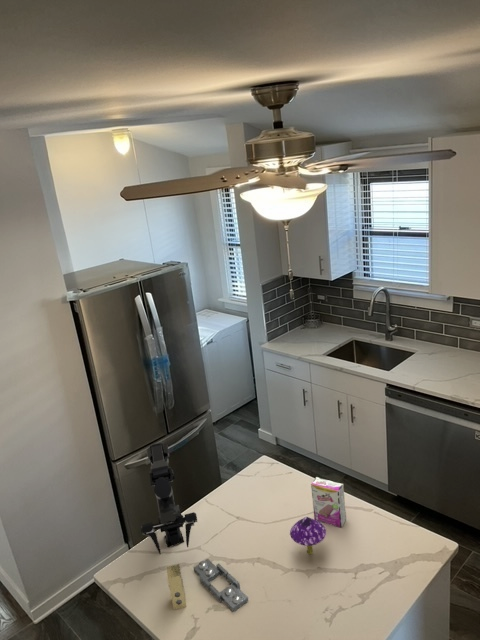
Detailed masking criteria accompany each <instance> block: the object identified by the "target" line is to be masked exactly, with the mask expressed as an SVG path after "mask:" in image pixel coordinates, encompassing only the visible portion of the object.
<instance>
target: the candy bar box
mask: <svg viewBox="0 0 480 640" xmlns="http://www.w3.org/2000/svg"><path fill="white" fill-rule="evenodd" d="M310 485H311V487H310V488H311V497H312V505H313V506H312V507H313V517H314V518H313V519H314V520H316V521H319V522H320V523H324V524H327V525H332V526H335V527H336V528H337V527H338V528H342V527H343V526H344V524H345V523H346V521H347V516H346V515H347V514H346V502H345V501H346V500H345V487H344V483H340V482H337V481H332V480H328V479H325V478H321V477H318V476H316V477H315V478H314V480H313V481H311V484H310Z"/></svg>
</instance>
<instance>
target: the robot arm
mask: <svg viewBox="0 0 480 640" xmlns="http://www.w3.org/2000/svg"><path fill="white" fill-rule="evenodd" d="M146 455H147V459H148V462H150V464H151V466H150V471H149V480H150V487H153V490H154V491H153V492H154V494H155V497H156V501H157V509H158V523H155V524H154V522H149V523H144V524H142V525H141V526H140V533H141V535H142V536H146V537H147V538H148V537H150V539H151V541H152V543H154V546H155V548H156V550H157V552H158V554H159V555H161V553H162V552H161V547H160V544H159V540H158V537H157V534H156V533H157V532H156V531H157V530H160V533H163V532H164V534H165V535H164V540H165V544H166V547H167V548H170V547H172V546H176V545H179V544H182V543H184V542H185V541H186V542H185V543H186V547H187V548H189V545H190V544H189V543H190V535H191V530H192V527H193V526H195V523H197V522H198V517H197V516H198V515H197V513H196V512H193V511H192V512H190V513H185V514H184V515H182V513H181V510H180V504H176V503H175V498H174V497H175V496H174V492H173V486H172V485H171V483H172V482H174V480H175V473H174V470H173V469H172V467H171V466H169V461H170V460H169V457H170V452H169V446H168V444H165V443H163V442H161V441H160V442H157V443H156V442H155V443H152V444H151V445H149V447H148V448H147V449H146ZM184 524H185V525H184ZM184 526H185V539H184V537H183V534H182V530H181V528H184Z"/></svg>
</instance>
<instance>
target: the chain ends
mask: <svg viewBox="0 0 480 640" xmlns="http://www.w3.org/2000/svg"><path fill="white" fill-rule="evenodd" d="M193 572H194V573H195V574H196V575H197V576H198V577H199V581H200V584H202V586H204V587H205V588H206V589H207V591H209V592H210V594H211V595H212V596H213V597H215V599H216V600H217V601H218V602H219V603H221V604H222V603H224V604H225V605H226V606H227V607H228V608H229V609H230V610H231V611H232V612H235V611H237V610H238V609H239V608H241V607H242V606H243V605H245V604H247V603H248V602H249V597H248V596H247V595H246V594H245V593H244V592H243V591H242V590H241V585H240V584H241V583H240V582H239V581H238V580H237V579H236V578H235V577H234V576H233V575H232V574H231V573H229V571H228V570H227V569H226V568H224V567H223V566H222V565H221V564H220V563H217V564H216V565H215V564H214V563H213V562H212V561H211V560H210V559H209V558H206V559H204V560H201V561H200V562H199V563H198V564H197V565H195V566H194V567H193ZM219 576H222V577H223V578H224V579H225V580H226V581H227V582H229V584H230V585H228V586H226V587H225V588H224V589H222V590H221V591H218V589H217V588H216V587H215V586H214V585H213V584H212V583H211V582H212V581H213V580H215V579H216V578H218V577H219Z"/></svg>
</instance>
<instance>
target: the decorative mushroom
mask: <svg viewBox="0 0 480 640" xmlns="http://www.w3.org/2000/svg"><path fill="white" fill-rule="evenodd" d="M289 535H290V537H291V540H293V541H294V542H295V543H296V544H298V545H301V546H304V547H305V546H306V549H307V551H306V552H307V554H308V555H312V554H313V553H314V550H313V546H315V545H317V544H319V543H321V542H322V541H323V540H324V539H325V537H326V535H327V530H326V527H325V526H324V525H323V524H322V522H321V521H317V520H315V519H314V518H312V517H309V516H305V517H303V518H301V519H299V520H298V521H296V522H295V523H294V524H293V526H291V528H290V530H289Z"/></svg>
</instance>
